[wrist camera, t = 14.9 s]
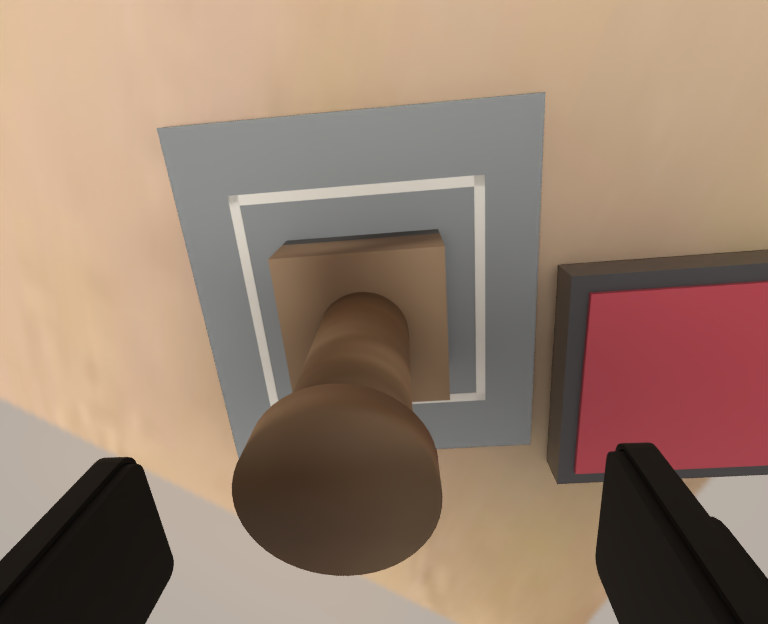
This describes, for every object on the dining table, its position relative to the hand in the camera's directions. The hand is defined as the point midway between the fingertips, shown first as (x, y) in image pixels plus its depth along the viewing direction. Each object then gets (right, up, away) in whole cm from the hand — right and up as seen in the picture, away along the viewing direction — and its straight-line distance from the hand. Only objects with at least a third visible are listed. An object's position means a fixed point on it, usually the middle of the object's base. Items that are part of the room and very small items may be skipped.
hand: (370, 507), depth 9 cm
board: (0, +4, +10) cm, 11 cm away
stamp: (0, +4, +10) cm, 11 cm away
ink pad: (+13, +2, +11) cm, 17 cm away
